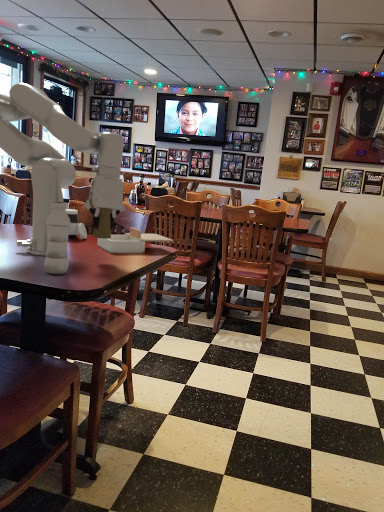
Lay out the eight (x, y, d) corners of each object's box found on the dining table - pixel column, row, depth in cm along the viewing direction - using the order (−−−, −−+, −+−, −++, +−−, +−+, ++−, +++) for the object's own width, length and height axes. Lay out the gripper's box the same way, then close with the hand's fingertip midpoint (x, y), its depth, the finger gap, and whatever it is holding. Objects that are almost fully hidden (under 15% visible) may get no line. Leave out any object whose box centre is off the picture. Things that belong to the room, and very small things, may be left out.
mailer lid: (140, 241, 153) (141, 231, 153) (125, 234, 165) (125, 225, 164) (172, 241, 161) (173, 232, 160) (155, 235, 173) (156, 226, 172)
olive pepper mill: (114, 238, 134) (118, 205, 132) (102, 239, 129) (105, 205, 126) (101, 234, 137) (104, 202, 135) (88, 235, 131) (91, 202, 129)
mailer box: (110, 253, 148) (111, 241, 147) (97, 245, 159) (97, 234, 158) (144, 252, 155) (145, 241, 155) (129, 245, 167) (130, 235, 166)
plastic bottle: (43, 276, 108) (46, 202, 104) (44, 270, 114) (47, 200, 111) (68, 277, 110) (71, 204, 106) (68, 271, 116) (71, 202, 112)
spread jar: (57, 234, 174) (58, 207, 172) (83, 235, 179) (85, 209, 177) (60, 239, 164) (62, 211, 161) (88, 240, 169) (90, 213, 166)
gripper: (86, 170, 121) (81, 229, 124) (136, 176, 130) (130, 232, 134) (79, 168, 127) (73, 225, 130) (127, 175, 136) (121, 228, 140)
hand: (102, 228), depth 132 cm, fingers closed on olive pepper mill, 4 cm apart
